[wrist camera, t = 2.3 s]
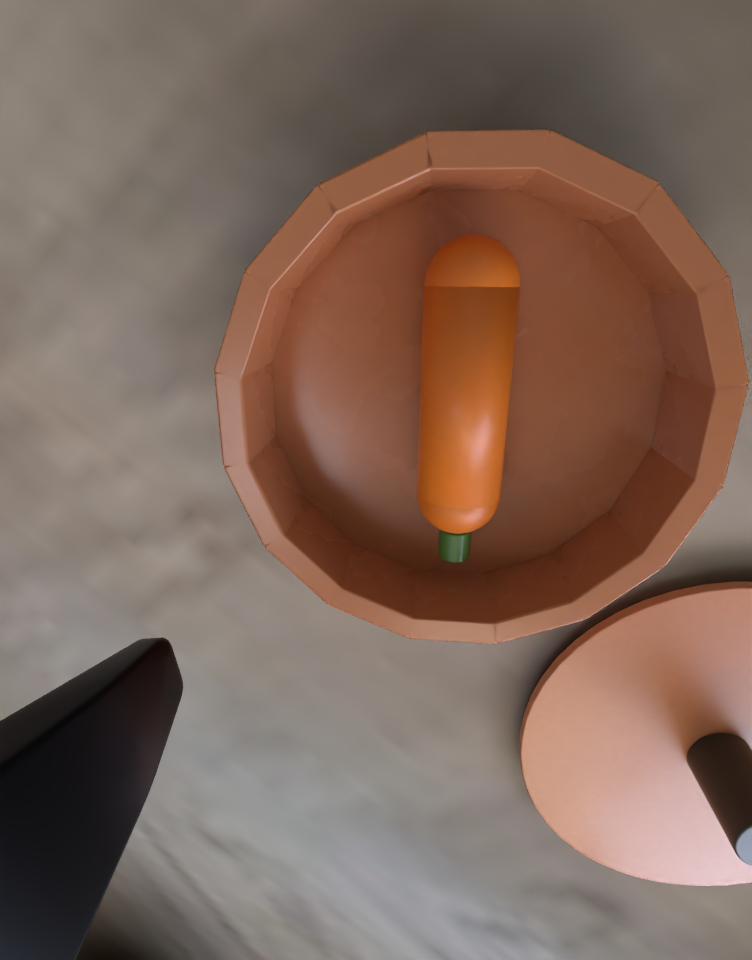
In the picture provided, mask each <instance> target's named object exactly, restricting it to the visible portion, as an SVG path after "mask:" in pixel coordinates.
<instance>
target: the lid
mask: <svg viewBox="0 0 752 960" xmlns="http://www.w3.org/2000/svg"><path fill="white" fill-rule="evenodd" d="M519 754H520V761H521V769H522V774H523V778H524V781H525V784H526V787H527V791H528V793H529V795H530V797H531V799H532V801H533V803H534V805H535V807H536V809H537V810H538V812H539V813H540V814H541V816H542V817H543V819H544V820H545V821H546V823H547V824H548V825H549V826H550V827H551V828H552V829H553V830H554V831H555V832H556V833H557V834H558V835H559V836H560V837H561V838H562V839H563V840H564V841H566V842H567V843H568V844H569V845H571V846H572V847H573V848H575V849H576V850H577V851H579V852H581V853H582V854H584V855H586V856H587V857H589V858H591V859H592V860H594V861H596V862H598V863H600V864H603V865H605V866H607V867H609V868H611V869H614V870H617V871H620V872H623V873H625V874H628V875H631V876H635V877H639V878H643V879H647V880H652V881H656V882H663V883H670V884H677V885H693V886H719V885H733V884H742V883H751V882H752V582H723V583H713V584H704V585H698V586H693V587H689V588H684V589H679V590H675V591H671V592H668V593H665V594H661V595H658V596H655V597H652V598H649V599H646V600H643V601H641V602H639V603H637V604H634V605H632V606H630V607H628V608H625V609H623V610H621V611H619V612H617V613H615V614H613V615H612V616H610V617H608V618H607V619H605V620H603V621H601V622H600V623H598V624H596V625H595V626H593V627H592V628H591V629H589V630H588V631H587V632H585V633H584V634H583V635H581V636H580V637H579V638H577V639H576V640H575V641H574V642H573V643H571V644H570V645H569V646H568V647H567V648H566V649H565V650H564V651H563V652H562V653H561V654H560V655H559V656H558V657H557V658H556V659H555V660H554V662H553V663H552V664H551V665H550V667H549V668H548V669H547V670H546V672H545V673H544V674H543V676H542V677H541V679H540V681H539V682H538V684H537V686H536V687H535V689H534V691H533V693H532V694H531V697H530V699H529V702H528V704H527V707H526V709H525V712H524V716H523V720H522V725H521V729H520V741H519Z"/></svg>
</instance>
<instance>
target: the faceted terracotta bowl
mask: <svg viewBox="0 0 752 960" xmlns="http://www.w3.org/2000/svg"><path fill="white" fill-rule="evenodd" d="M471 234H479V235H486V236H489V237H492V238H494V239H496V240H498V241H499V242H501V243H502V244H504V245H505V246H506V247H507V248H508V249H509V250H510V252H511V253H512V255H513V256H514V258H515V260H516V262H517V265H518V267H519V273H520V296H519V306H518V317H517V327H516V337H515V348H514V358H513V369H512V379H511V390H510V400H509V410H508V421H507V431H506V442H505V452H504V463H503V473H502V484H501V494H500V500H499V505H498V507H497V509H496V511H495V513H494V515H493V516H492V518H491V519H490V520H489V521H488V522H487V523H486V524H485V525H484V526H482V527H481V528H479V529H477V530H475V531H472V535H471V548H470V557H469V558H468V560H466V561H464V562H461V563H451V562H447V561H444V560H442V559H441V558H440V557H439V555H438V541H439V529H438V528H436V527H435V526H433V525H432V524H431V523H430V522H429V521H428V520H427V519H426V518H425V517H424V515H423V514H422V512H421V510H420V508H419V505H418V501H417V493H416V485H417V458H418V430H419V403H420V376H421V349H422V321H423V294H424V280H425V275H426V272H427V269H428V266H429V264H430V262H431V260H432V258H433V257H434V256H435V254H436V253H437V252H438V251H439V250H440V249H441V248H442V247H443V246H444V245H445V244H447V243H448V242H450V241H452V240H454V239H455V238H458V237H461V236H464V235H471ZM214 371H215V373H214V375H215V386H216V396H217V407H218V417H219V427H220V438H221V448H222V459H223V465H224V466H225V467H224V469H225V471H226V473H227V475H228V477H229V479H230V481H231V483H232V485H233V487H234V488H235V490H236V492H237V494H238V496H239V498H240V500H241V502H242V504H243V506H244V508H245V510H246V512H247V514H248V516H249V518H250V520H251V522H252V524H253V525H254V527H255V529H256V531H257V533H258V535H259V537H260V539H261V541H262V543H263V545H264V546H265V548H266V549H267V550H268V551H269V552H270V553H271V554H272V555H274V556H275V557H276V558H277V559H278V560H279V561H280V562H281V563H282V564H284V565H285V566H286V567H287V568H288V569H289V570H290V571H291V572H292V573H293V574H295V575H296V576H297V577H298V578H299V579H300V580H301V581H302V582H303V583H305V584H306V585H307V586H308V587H309V588H310V589H311V590H312V591H313V592H314V593H316V594H317V595H318V596H319V597H320V598H321V599H322V600H323V601H324V602H325V603H327V604H328V605H330V606H332V607H334V608H337V609H339V610H341V611H344V612H346V613H349V614H351V615H353V616H356V617H358V618H361V619H363V620H366V621H368V622H370V623H373V624H375V625H378V626H380V627H382V628H385V629H387V630H390V631H392V632H394V633H397V634H399V635H402V636H404V637H407V638H408V637H409V638H410V639H424V640H439V641H455V642H471V643H486V644H496V642H497V643H501V642H505V641H509V640H512V639H516V638H520V637H524V636H527V635H531V634H535V633H539V632H542V631H546V630H550V629H554V628H558V627H561V626H565V625H569V624H573V623H576V622H580V621H583V619H585V620H586V619H588V618H589V617H591V616H592V615H594V614H595V613H597V612H598V611H600V610H601V609H603V608H604V607H606V606H607V605H609V604H610V603H612V602H613V601H615V600H616V599H618V598H619V597H621V596H622V595H624V594H625V593H627V592H628V591H630V590H631V589H633V588H634V587H635V586H637V585H638V584H640V583H641V582H643V581H644V580H646V579H647V578H649V577H650V576H652V575H653V574H655V573H656V572H658V571H659V570H661V569H662V568H663V567H665V566H666V564H667V563H668V562H669V560H670V559H671V558H672V556H673V555H674V553H675V552H676V551H677V549H678V548H679V547H680V545H681V544H682V543H683V541H684V540H685V538H686V537H687V536H688V534H689V533H690V532H691V530H692V529H693V527H694V526H695V525H696V523H697V522H698V521H699V519H700V518H701V516H702V515H703V514H704V512H705V511H706V510H707V508H708V507H709V505H710V504H711V503H712V501H713V500H714V499H715V497H716V496H717V495H718V493H719V492H720V490H721V489H722V488H723V486H722V485H723V484H724V481H725V477H726V473H727V469H728V465H729V461H730V457H731V453H732V449H733V445H734V441H735V437H736V433H737V429H738V425H739V421H740V417H741V413H742V409H743V405H744V401H745V397H746V393H747V389H748V383H749V379H748V374H747V368H746V363H745V358H744V352H743V347H742V341H741V336H740V331H739V325H738V320H737V314H736V309H735V303H734V298H733V293H732V287H731V282H730V276H729V275H728V274H727V272H726V270H725V269H724V268H723V266H722V265H721V264H720V262H719V261H718V260H717V258H716V257H715V256H714V254H713V253H712V252H711V250H710V249H709V248H708V246H707V245H706V244H705V242H704V241H703V240H702V238H701V237H700V236H699V234H698V233H697V232H696V231H695V229H694V228H693V227H692V225H691V224H690V223H689V221H688V220H687V219H686V217H685V216H684V215H683V213H682V212H681V211H680V209H679V208H678V207H677V205H676V204H675V203H674V201H673V200H672V199H671V197H670V196H669V195H668V193H667V192H666V191H665V189H664V188H663V187H662V185H661V184H659V183H658V181H657V180H654V179H652V178H650V177H648V176H646V175H644V174H642V173H640V172H638V171H636V170H634V169H632V168H630V167H627V166H625V165H623V164H621V163H619V162H617V161H615V160H613V159H611V158H609V157H607V156H605V155H602V154H600V153H598V152H596V151H594V150H592V149H590V148H588V147H586V146H584V145H582V144H580V143H578V142H575V141H573V140H571V139H569V138H567V137H565V136H563V135H561V134H559V133H557V132H555V131H553V130H550V131H549V130H548V129H526V130H458V131H427V132H426V133H422V134H420V135H418V136H415V137H413V138H411V139H409V140H407V141H405V142H403V143H401V144H399V145H397V146H395V147H393V148H391V149H389V150H387V151H385V152H383V153H381V154H379V155H376V156H374V157H372V158H370V159H368V160H366V161H364V162H362V163H360V164H358V165H356V166H354V167H352V168H350V169H348V170H346V171H344V172H342V173H339V174H337V175H335V176H333V177H331V178H329V179H327V180H325V181H323V182H321V183H320V184H319V186H318V185H316V186H315V187H314V189H313V190H312V191H311V192H310V193H309V194H308V196H307V197H306V198H305V199H304V200H303V202H302V203H301V204H300V205H299V206H298V208H297V209H296V210H295V211H294V212H293V213H292V215H291V216H290V217H289V218H288V219H287V221H286V222H285V223H284V224H283V225H282V227H281V228H280V229H279V230H278V231H277V232H276V234H275V235H274V236H273V237H272V238H271V240H270V241H269V242H268V243H267V244H266V246H265V247H264V248H263V249H262V250H261V251H260V253H259V254H258V255H257V256H256V257H255V259H254V260H253V261H252V262H251V263H250V265H249V266H248V267H247V268H246V269H245V272H244V273H243V276H242V280H241V283H240V286H239V289H238V293H237V296H236V299H235V303H234V306H233V309H232V312H231V316H230V319H229V322H228V325H227V329H226V332H225V335H224V339H223V342H222V345H221V348H220V352H219V355H218V358H217V362H216V365H215V368H214Z"/></svg>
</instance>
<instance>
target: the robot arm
mask: <svg viewBox="0 0 752 960" xmlns="http://www.w3.org/2000/svg"><path fill="white" fill-rule="evenodd" d="M182 691H183V681H182V677H181V674H180V670H179V667H178V664H177V661H176V658H175V655H174V652H173V649H172V646H171V644H170V642H169V641H168V640H167V639H165V638H150V639H141V640H138V641H136V642H135V643H133V644H131V645H130V646H128V647H126V648H124V649H123V650H121V651H119V652H118V653H116V654H114V655H112V656H111V657H109V658H107V659H106V660H104V661H102V662H100V663H99V664H97V665H95V666H94V667H92V668H90V669H88V670H87V671H85V672H83V673H82V674H80V675H78V676H77V677H75V678H73V679H71V680H70V681H68V682H66V683H65V684H63V685H61V686H59V687H58V688H56V689H54V690H53V691H51V692H49V693H47V694H46V695H44V696H42V697H41V698H39V699H37V700H35V701H34V702H32V703H30V704H29V705H27V706H25V707H24V708H22V709H20V710H18V711H17V712H15V713H13V714H12V715H10V716H8V717H6V718H5V719H3V720H1V721H0V960H76V957H77V955H78V953H79V950H80V948H81V946H82V944H83V941H84V939H85V937H86V935H87V932H88V930H89V928H90V926H91V923H92V921H93V919H94V916H95V914H96V912H97V910H98V907H99V905H100V903H101V901H102V898H103V896H104V894H105V892H106V889H107V887H108V885H109V883H110V880H111V878H112V876H113V873H114V871H115V869H116V867H117V864H118V862H119V860H120V858H121V855H122V853H123V851H124V849H125V846H126V844H127V842H128V839H129V837H130V835H131V833H132V830H133V828H134V826H135V824H136V821H137V819H138V817H139V815H140V812H141V810H142V808H143V805H144V803H145V801H146V798H147V796H148V793H149V791H150V788H151V785H152V783H153V780H154V777H155V775H156V772H157V769H158V766H159V763H160V760H161V757H162V754H163V751H164V748H165V745H166V742H167V739H168V736H169V733H170V730H171V727H172V724H173V721H174V718H175V715H176V712H177V709H178V706H179V703H180V700H181V696H182Z"/></svg>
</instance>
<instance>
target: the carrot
mask: <svg viewBox="0 0 752 960" xmlns="http://www.w3.org/2000/svg"><path fill="white" fill-rule="evenodd" d="M519 296H520V273H519V267H518V265H517V262H516V260H515V258H514V256H513V255H512V253H511V252H510V250H509V249H508V248H507V247H506V246H505V245H504V244H502V243H501V242H499V241H498V240H496V239H494V238H492V237H489V236H486V235H479V234H471V235H464V236H461V237H458V238H455V239H454V240H452V241H450V242H448V243H447V244H445V245H444V246H443V247H442V248H441V249H440V250H439V251H438V252H437V253H436V254H435V256H434V257H433V258H432V260H431V262H430V264H429V266H428V269H427V272H426V275H425V280H424V294H423V321H422V349H421V376H420V403H419V430H418V458H417V485H416V493H417V501H418V505H419V508H420V510H421V512H422V514H423V515H424V517H425V518H426V519H427V520H428V521H429V522H430V523H431V524H432V525H433V526H435V527H436V528H438V529H439V541H438V555H439V557H440V558H441V559H442V560H444V561H447V562H451V563H461V562H464V561H466V560H468V558H469V557H470V548H471V535H472V531H475V530H477V529H479V528H481V527H482V526H484V525H485V524H486V523H487V522H488V521H489V520H490V519H491V518H492V516H493V515H494V513H495V511H496V509H497V507H498V505H499V500H500V494H501V484H502V473H503V463H504V452H505V442H506V431H507V421H508V410H509V400H510V390H511V379H512V369H513V358H514V348H515V337H516V327H517V317H518V306H519Z"/></svg>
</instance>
